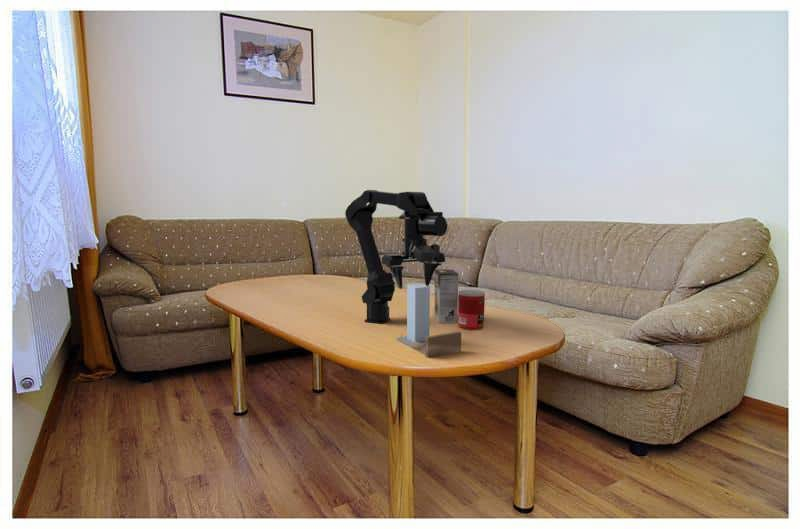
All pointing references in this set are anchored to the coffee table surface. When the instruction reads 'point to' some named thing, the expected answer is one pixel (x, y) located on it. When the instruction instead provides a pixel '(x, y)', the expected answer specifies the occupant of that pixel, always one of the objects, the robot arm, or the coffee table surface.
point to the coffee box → (446, 296)
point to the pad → (408, 341)
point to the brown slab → (440, 344)
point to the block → (418, 312)
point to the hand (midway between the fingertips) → (414, 287)
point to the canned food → (471, 309)
